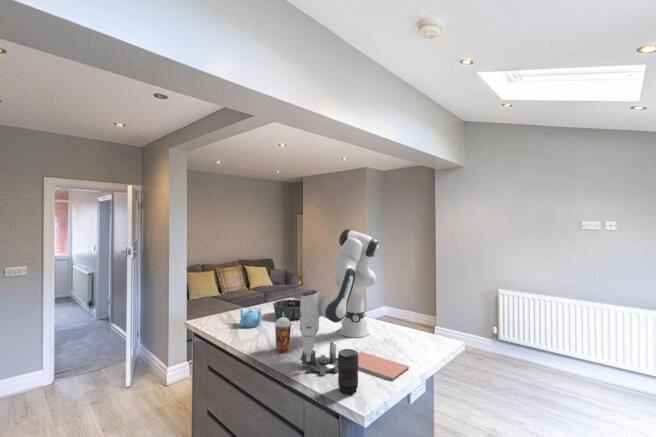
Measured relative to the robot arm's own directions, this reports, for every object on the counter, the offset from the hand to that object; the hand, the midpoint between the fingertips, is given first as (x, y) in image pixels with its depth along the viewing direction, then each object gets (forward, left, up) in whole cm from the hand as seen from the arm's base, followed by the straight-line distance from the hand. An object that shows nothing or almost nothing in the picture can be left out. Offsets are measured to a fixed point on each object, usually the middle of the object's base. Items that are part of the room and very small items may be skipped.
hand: (308, 356), depth 151 cm
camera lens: (+22, +16, -5) cm, 28 cm away
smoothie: (-19, -15, -5) cm, 24 cm away
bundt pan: (-84, -17, -5) cm, 86 cm away
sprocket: (0, +6, -5) cm, 8 cm away
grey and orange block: (0, 0, -3) cm, 3 cm away
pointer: (-8, -2, -5) cm, 10 cm away
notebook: (-1, +31, -5) cm, 31 cm away
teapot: (-63, -41, -5) cm, 75 cm away
